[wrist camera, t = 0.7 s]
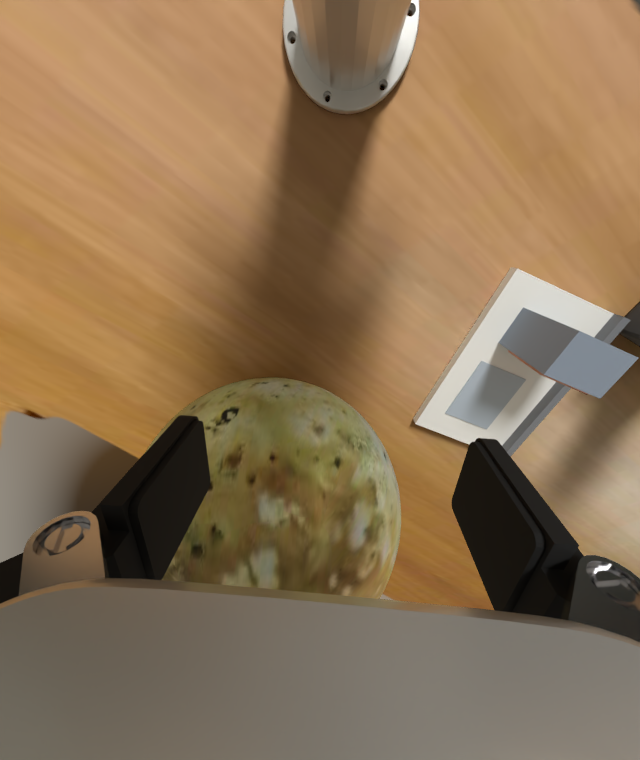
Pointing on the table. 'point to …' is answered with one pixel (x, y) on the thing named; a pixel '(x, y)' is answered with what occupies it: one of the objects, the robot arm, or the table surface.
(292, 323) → the table surface
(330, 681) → the robot arm
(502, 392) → the shelf board
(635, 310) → the sculpture
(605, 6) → the table surface
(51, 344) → the table surface
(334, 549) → the speckled stone ball
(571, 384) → the box
